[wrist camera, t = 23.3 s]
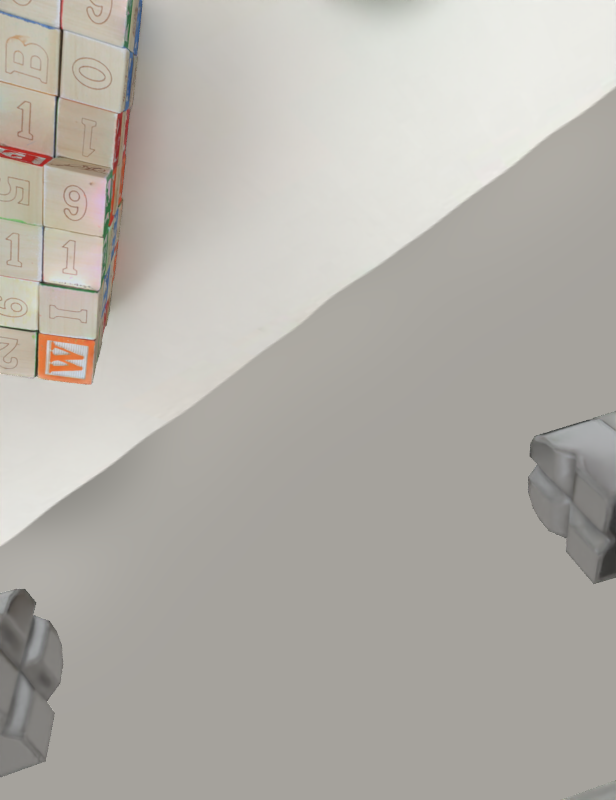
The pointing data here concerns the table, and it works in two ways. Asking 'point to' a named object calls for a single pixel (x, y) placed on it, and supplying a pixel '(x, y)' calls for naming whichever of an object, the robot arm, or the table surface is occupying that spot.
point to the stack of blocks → (61, 178)
